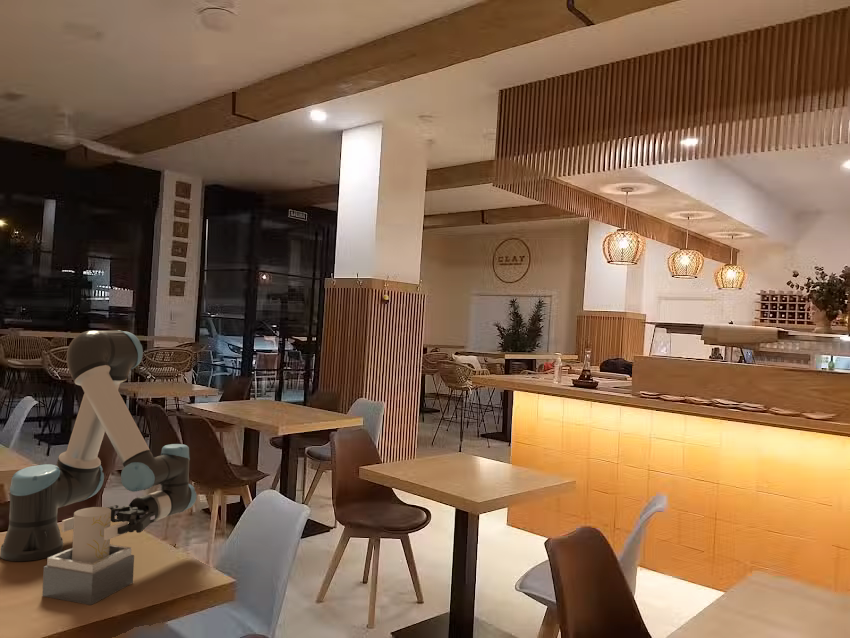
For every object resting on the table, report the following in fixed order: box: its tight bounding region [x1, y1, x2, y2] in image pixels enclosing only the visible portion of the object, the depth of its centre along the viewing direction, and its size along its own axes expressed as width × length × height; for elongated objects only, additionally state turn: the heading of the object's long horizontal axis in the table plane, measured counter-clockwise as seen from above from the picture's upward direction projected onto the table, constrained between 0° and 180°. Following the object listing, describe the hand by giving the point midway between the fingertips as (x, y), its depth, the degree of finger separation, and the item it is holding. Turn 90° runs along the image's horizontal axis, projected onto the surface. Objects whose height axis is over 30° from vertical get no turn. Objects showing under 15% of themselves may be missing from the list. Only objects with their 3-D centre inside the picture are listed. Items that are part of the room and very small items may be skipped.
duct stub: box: [42, 543, 135, 606], centre depth 161 cm, size 14×14×9 cm
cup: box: [71, 506, 112, 563], centre depth 161 cm, size 8×8×12 cm
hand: (83, 530), depth 159 cm, fingers open, 13 cm apart
